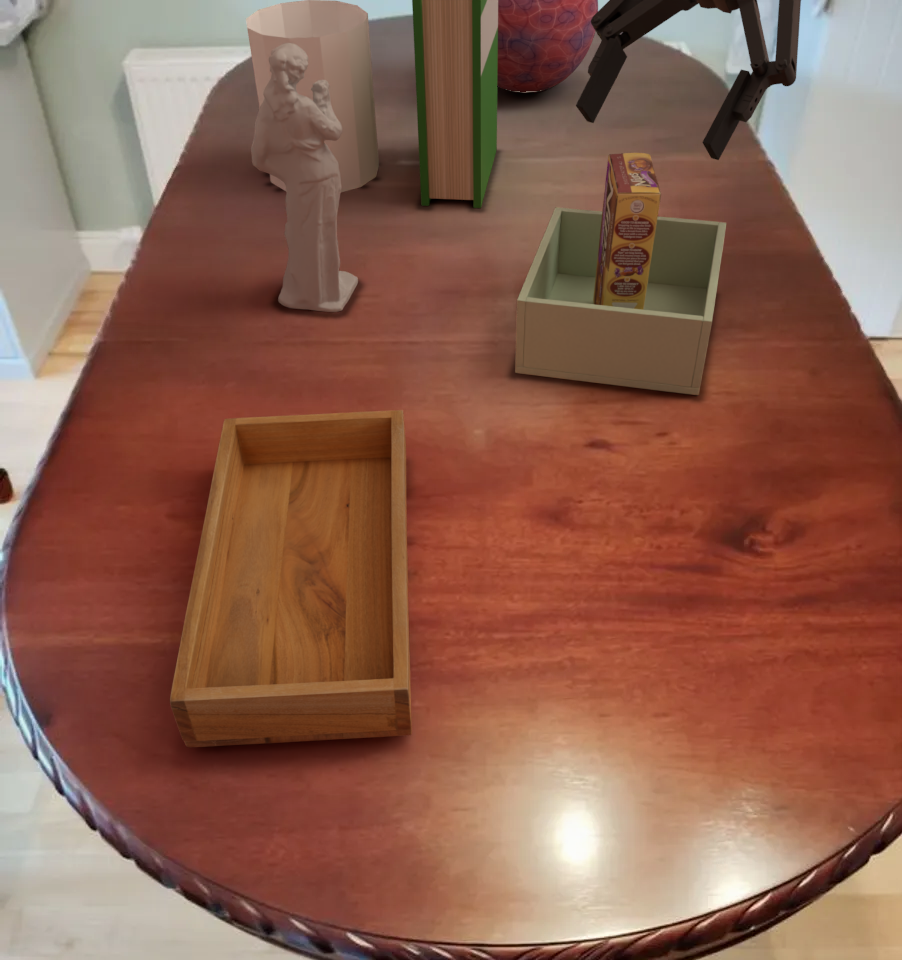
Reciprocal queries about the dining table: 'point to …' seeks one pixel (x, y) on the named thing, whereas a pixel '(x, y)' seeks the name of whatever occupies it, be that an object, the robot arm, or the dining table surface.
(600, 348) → the bin
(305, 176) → the figurine
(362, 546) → the tray
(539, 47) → the decorative sphere
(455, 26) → the hardback book
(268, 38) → the container
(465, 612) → the dining table surface
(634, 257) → the candy box
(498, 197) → the dining table surface
